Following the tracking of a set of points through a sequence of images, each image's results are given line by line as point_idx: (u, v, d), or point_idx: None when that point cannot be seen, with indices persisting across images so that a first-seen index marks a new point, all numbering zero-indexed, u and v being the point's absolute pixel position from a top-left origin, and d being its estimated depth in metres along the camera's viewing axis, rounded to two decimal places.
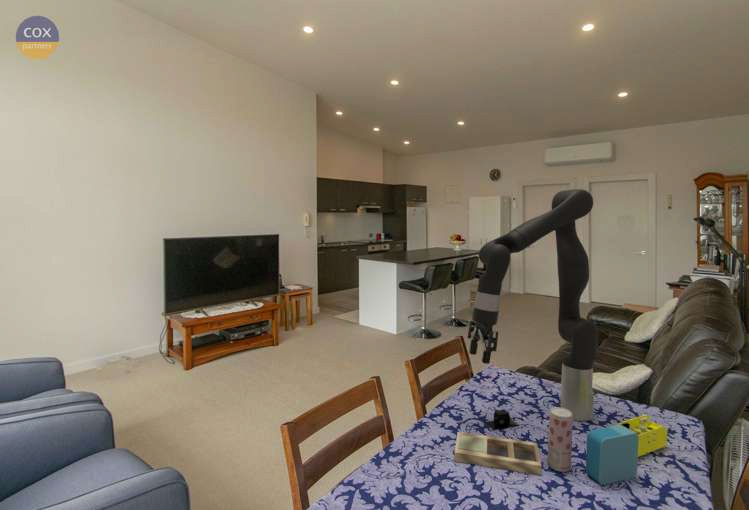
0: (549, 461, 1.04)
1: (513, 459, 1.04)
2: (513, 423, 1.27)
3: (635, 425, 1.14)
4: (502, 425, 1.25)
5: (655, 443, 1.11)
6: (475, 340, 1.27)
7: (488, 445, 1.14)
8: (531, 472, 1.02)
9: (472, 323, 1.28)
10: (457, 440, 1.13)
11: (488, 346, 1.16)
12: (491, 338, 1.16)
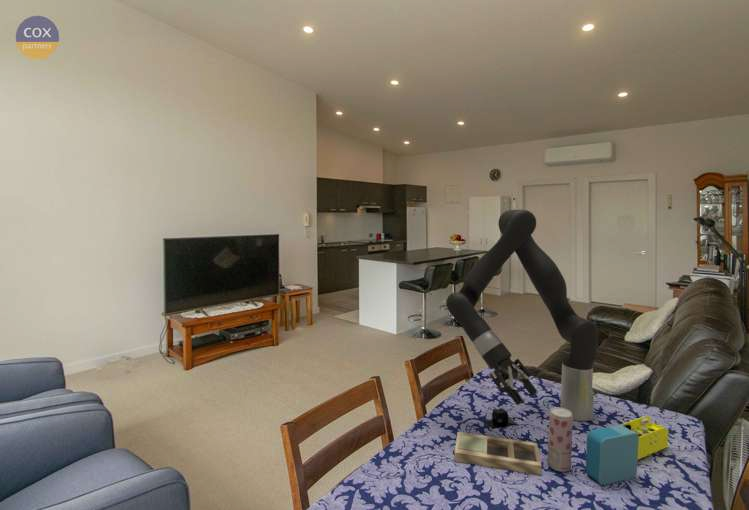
0: (549, 461, 1.04)
1: (513, 459, 1.04)
2: (511, 422, 1.28)
3: (636, 426, 1.13)
4: (500, 424, 1.26)
5: (657, 444, 1.10)
6: (524, 379, 1.15)
7: (488, 445, 1.14)
8: (531, 472, 1.02)
9: None
10: (457, 440, 1.13)
11: None
12: (494, 380, 1.10)
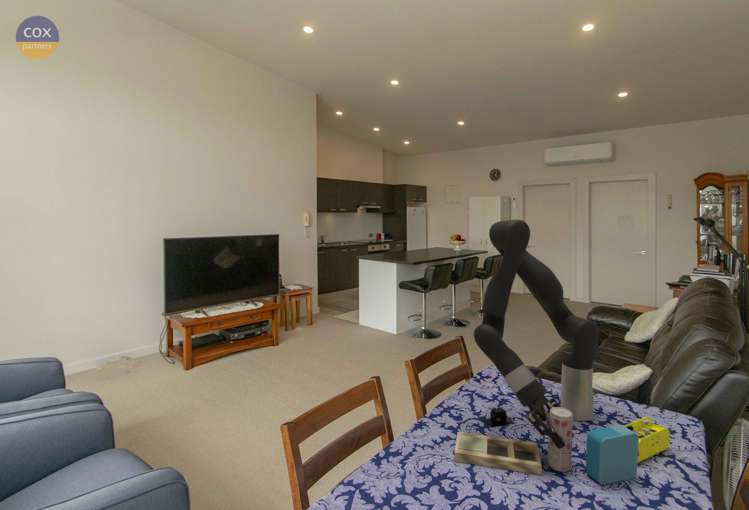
0: (549, 461, 1.04)
1: (513, 459, 1.04)
2: (510, 421, 1.28)
3: (638, 427, 1.13)
4: (499, 423, 1.27)
5: (658, 445, 1.10)
6: None
7: (488, 445, 1.14)
8: (531, 472, 1.02)
9: None
10: (457, 440, 1.13)
11: None
12: (532, 423, 1.03)
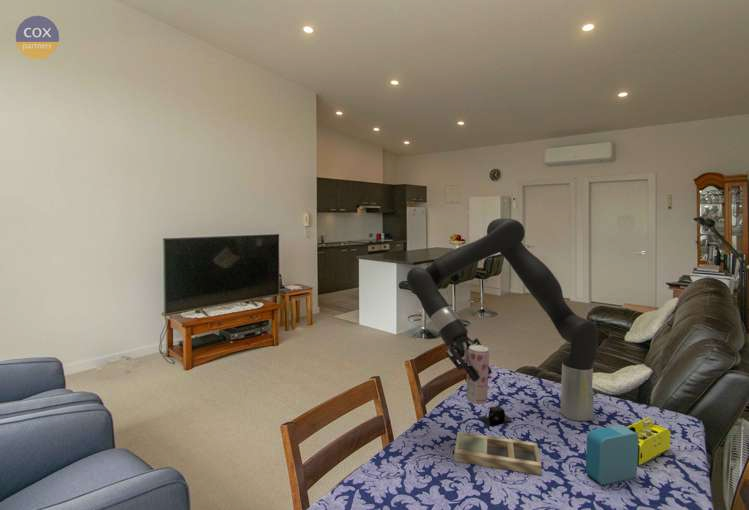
0: (467, 395, 1.09)
1: (513, 459, 1.04)
2: (508, 420, 1.29)
3: (639, 428, 1.12)
4: (497, 421, 1.28)
5: (660, 446, 1.09)
6: None
7: (488, 445, 1.14)
8: (531, 472, 1.02)
9: None
10: (457, 440, 1.13)
11: None
12: (450, 358, 1.07)
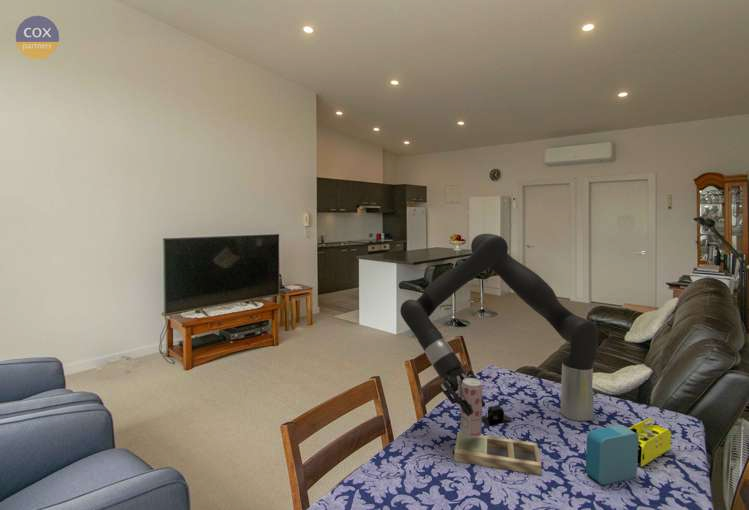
0: (461, 428, 1.10)
1: (513, 459, 1.04)
2: (507, 419, 1.30)
3: (640, 429, 1.12)
4: (496, 421, 1.28)
5: (661, 447, 1.09)
6: None
7: (488, 445, 1.14)
8: (531, 472, 1.02)
9: None
10: (457, 440, 1.13)
11: None
12: (444, 392, 1.09)
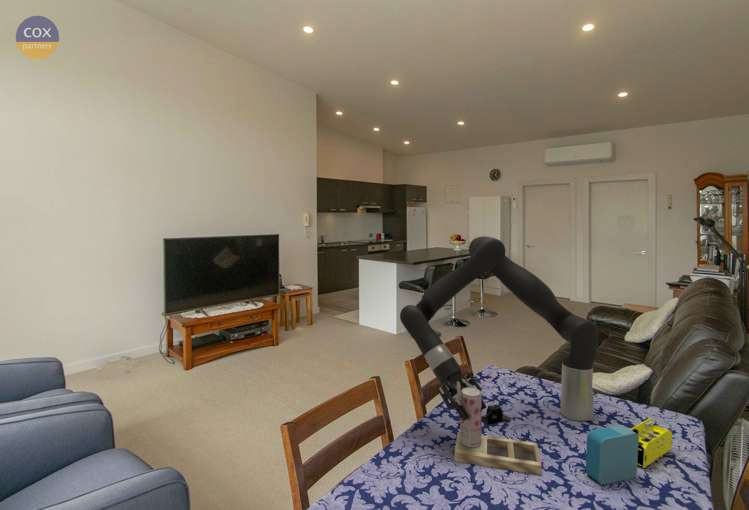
0: (461, 438, 1.11)
1: (513, 459, 1.04)
2: (505, 418, 1.30)
3: (641, 430, 1.11)
4: (495, 420, 1.29)
5: (662, 448, 1.08)
6: None
7: (488, 445, 1.14)
8: (531, 472, 1.02)
9: None
10: (457, 440, 1.13)
11: None
12: (442, 395, 1.09)
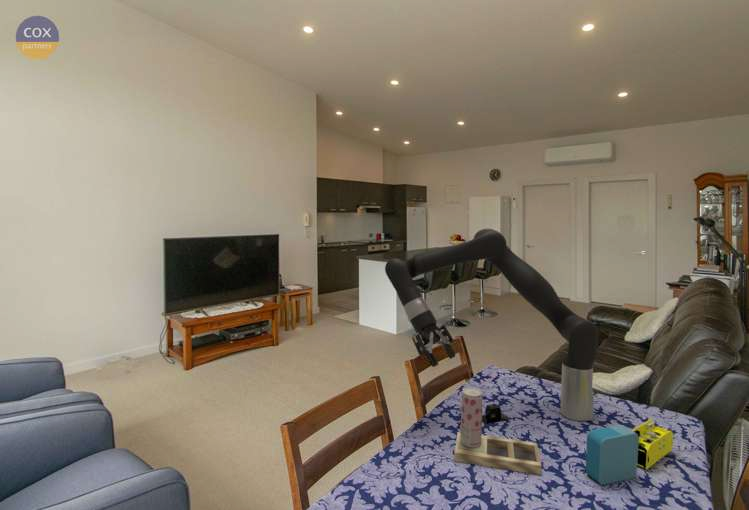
0: (461, 438, 1.11)
1: (513, 459, 1.04)
2: (504, 417, 1.31)
3: (643, 431, 1.11)
4: (493, 419, 1.29)
5: (664, 449, 1.08)
6: (446, 344, 1.25)
7: (488, 445, 1.14)
8: (531, 472, 1.02)
9: None
10: (457, 440, 1.13)
11: None
12: (415, 343, 1.19)
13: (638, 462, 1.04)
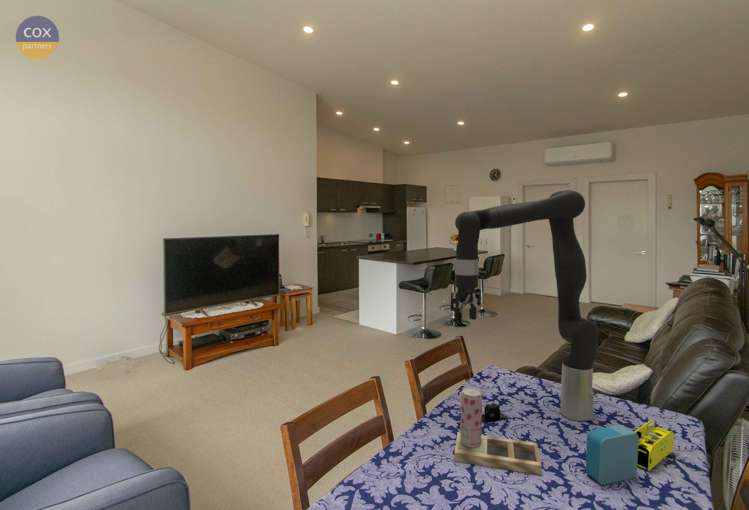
0: (461, 438, 1.11)
1: (513, 459, 1.04)
2: (503, 416, 1.31)
3: (644, 432, 1.10)
4: (492, 418, 1.30)
5: (665, 449, 1.08)
6: (473, 306, 1.33)
7: (488, 445, 1.14)
8: (531, 472, 1.02)
9: None
10: (457, 440, 1.13)
11: None
12: (451, 298, 1.26)
13: (640, 463, 1.04)
